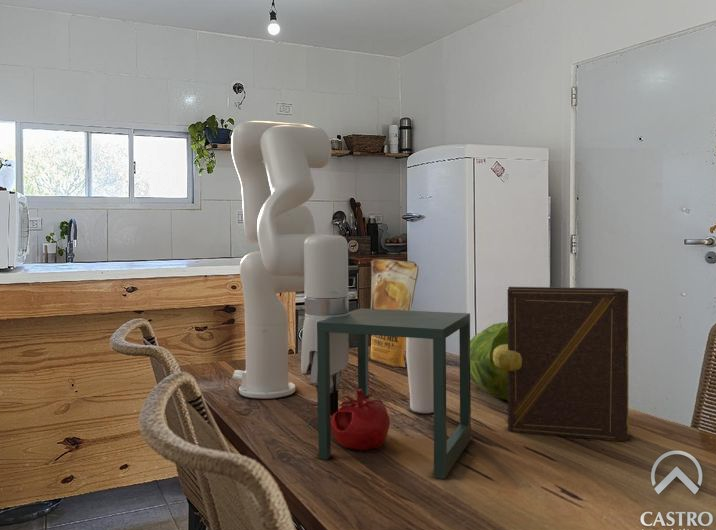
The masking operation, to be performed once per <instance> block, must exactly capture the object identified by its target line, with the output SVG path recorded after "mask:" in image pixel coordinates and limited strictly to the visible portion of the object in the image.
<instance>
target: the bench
mask: <svg viewBox="0 0 716 530" xmlns="http://www.w3.org/2000/svg"><path fill="white" fill-rule="evenodd" d="M317 331H318V332H317V363H318V398H317V416H318V417H317V425H318V426H317V427H318V428H317V430H318V431H317V432H318V433H317V435H318V459H323V460H328V459H330V458H331V457H332V434H331V433H332V427H331V416H330V342H329V332H333V333H348V335H349V334H350V335H357V388H358V389H357V390H359V389H362V390H363V393H362V399H363V398H364V397H365V396H367V395H369V394H370V392H369V391H370V387H369V386H370V384H369V381H370V380H369V376H370V375H369V374H370V373H369V336H372V335H379V336H394V337H409V338H425V339H433V402H434V412H433V478H434V479H435V478H436V479H442V480H445V479H446V477H447V476H448V474H449V473H450V471H451V470H452V468H453V466H454V465H455V464H456V462H457V461H458V459H459V458H460V456H462V455H461V454H462V453H463V452H464V451H465V450H466V449H465V448H467V446H468V444H469V443H470V441H471V440H472V417H471V416H472V411H471V410H472V404H471V402H472V401H471V400H472V399H471V396H472V395H471V392H472V391H471V387H472V385H471V382H472V381H471V379H470V341H471V313H470V312H469V313H468V312H447V311H429V310H427V311H426V310H411V311H406V310H384V309H371V308H361V307H360V308H357V309H353V310H350V311H349V314H348V315H346V316H340V317H331V318H328V319H325V320H322V321H319V322H317ZM456 332H459V335H458V337H459V424H458V426H457V427H456V428H455V429H454V431H453V432H452V433H451V435H450V436H449V437H448V439H447V435H448V434H447V338H448V337H450V336H451V335H452V334H454V333H456ZM367 400H370V397H369V398H368V399H367Z"/></svg>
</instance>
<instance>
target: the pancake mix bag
mask: <svg viewBox="0 0 716 530" xmlns="http://www.w3.org/2000/svg"><path fill="white" fill-rule="evenodd" d="M369 262H370V281H371V282H370V283H371V285H370V309H384V310H406V311H412V307H413V303H414V297H415V290H416V284H417V280H418V277H419V265H417V263H416V262H415V261H410V260H397V259H386V258H374V259H372V260H371V261H369ZM370 339H371V341H370V360H372V361H374V362H377V363H380V364H383V365H386V366H390V367H393V368H407V361H406V356H405V352H406V337H394V336H379V335H371V337H370Z"/></svg>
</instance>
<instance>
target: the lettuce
mask: <svg viewBox="0 0 716 530" xmlns="http://www.w3.org/2000/svg"><path fill="white" fill-rule="evenodd" d="M504 344H508V321H507V322H506V321H505V322H497V323H493V324H491V325H490V326H488V327H486V328H485V329H483V330H482V331H481V332H479V333H476V334H475V335H474V336H473V337H472V338H471V339H470V381H471V382H472V383H473V384H474V385H475V386H476V387H478V388H479V389H480V390H482V391H484V392H485V393H488V394H489V395H491V396H493V397H495V398H499V399H502V400H504V401H507V402H508V371H506V370H502V369H500V368H498V367H497V366H496V365H495V364H494V361H493V352H494V349H495V348H496V347H498V346H500V345H504Z"/></svg>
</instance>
